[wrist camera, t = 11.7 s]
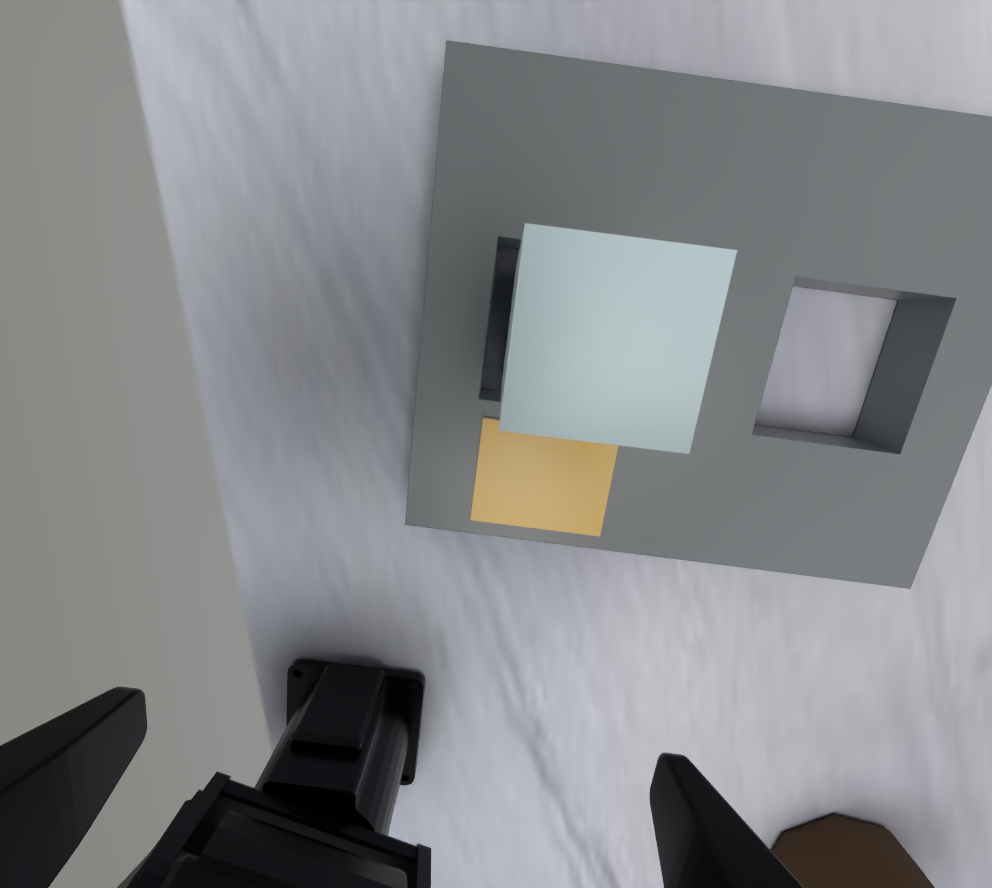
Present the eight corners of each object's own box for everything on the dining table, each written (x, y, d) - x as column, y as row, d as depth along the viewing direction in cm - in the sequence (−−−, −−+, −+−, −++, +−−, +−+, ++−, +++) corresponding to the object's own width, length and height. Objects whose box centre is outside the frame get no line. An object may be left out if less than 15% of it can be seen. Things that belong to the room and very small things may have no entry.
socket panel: (864, 557, 21) (914, 591, 19) (416, 500, 21) (403, 526, 19) (1010, 156, 17) (1100, 128, 15) (454, 79, 17) (445, 36, 14)
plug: (599, 385, 20) (689, 454, 10) (502, 373, 20) (498, 430, 10) (618, 283, 19) (737, 250, 9) (515, 270, 19) (525, 223, 9)
